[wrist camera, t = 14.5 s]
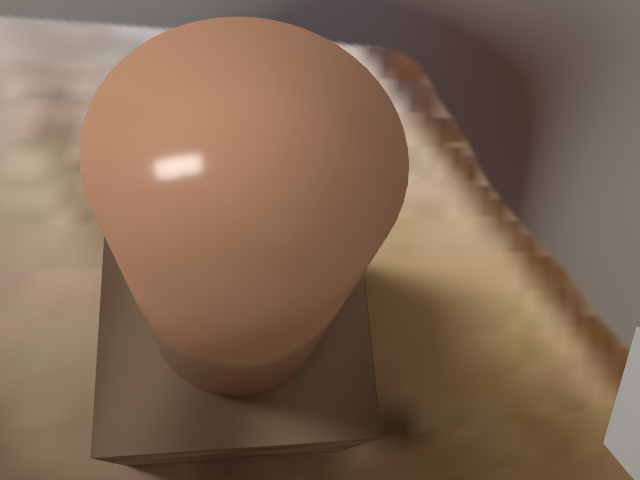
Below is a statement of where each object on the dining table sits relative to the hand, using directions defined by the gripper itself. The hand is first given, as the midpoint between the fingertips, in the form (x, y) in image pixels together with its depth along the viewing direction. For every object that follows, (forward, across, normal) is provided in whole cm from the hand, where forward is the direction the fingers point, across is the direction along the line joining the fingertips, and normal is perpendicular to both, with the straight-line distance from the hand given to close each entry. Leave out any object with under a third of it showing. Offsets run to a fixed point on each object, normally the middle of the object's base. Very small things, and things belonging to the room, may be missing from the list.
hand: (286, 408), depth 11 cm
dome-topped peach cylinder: (+12, 0, -5) cm, 12 cm away
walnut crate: (+17, 0, -10) cm, 20 cm away
